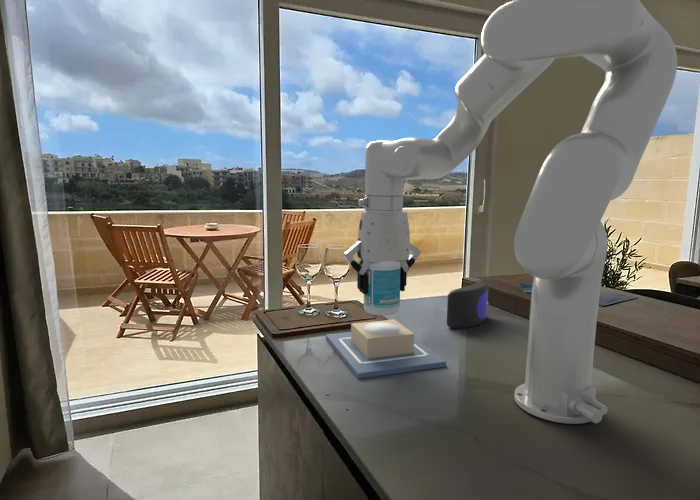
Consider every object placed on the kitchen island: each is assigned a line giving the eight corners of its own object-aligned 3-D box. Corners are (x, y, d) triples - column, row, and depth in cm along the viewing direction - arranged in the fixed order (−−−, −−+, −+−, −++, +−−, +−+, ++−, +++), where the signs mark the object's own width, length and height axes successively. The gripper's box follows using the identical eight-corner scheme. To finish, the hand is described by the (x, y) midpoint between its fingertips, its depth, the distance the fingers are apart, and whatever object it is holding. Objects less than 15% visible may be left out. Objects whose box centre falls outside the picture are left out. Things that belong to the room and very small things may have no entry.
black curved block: (461, 333, 110) (462, 294, 108) (444, 328, 113) (446, 290, 112) (496, 319, 121) (498, 283, 120) (480, 315, 124) (482, 280, 123)
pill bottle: (405, 310, 98) (407, 246, 96) (389, 319, 92) (390, 250, 90) (374, 304, 102) (375, 242, 100) (356, 312, 96) (357, 247, 94)
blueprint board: (446, 366, 91) (447, 341, 90) (358, 378, 85) (358, 351, 84) (399, 330, 111) (399, 310, 110) (325, 338, 106) (325, 316, 105)
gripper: (348, 206, 87) (347, 299, 90) (432, 205, 92) (428, 292, 95) (336, 203, 94) (335, 289, 97) (415, 203, 100) (412, 284, 102)
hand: (381, 290), depth 96 cm, fingers closed on pill bottle, 7 cm apart
